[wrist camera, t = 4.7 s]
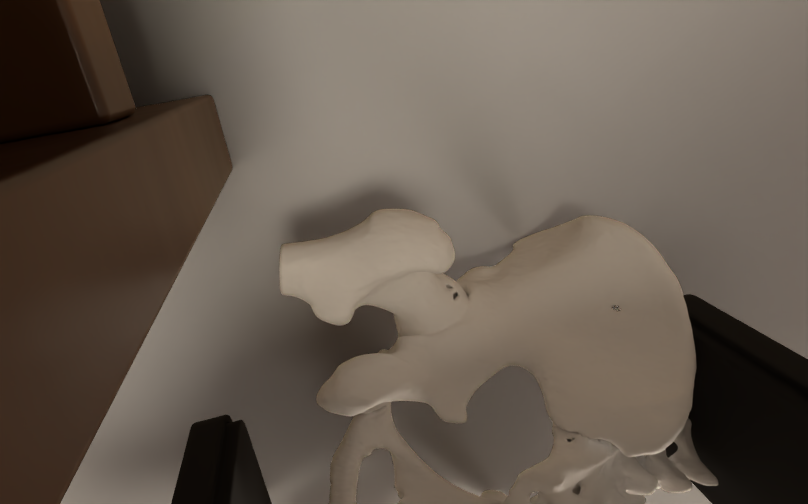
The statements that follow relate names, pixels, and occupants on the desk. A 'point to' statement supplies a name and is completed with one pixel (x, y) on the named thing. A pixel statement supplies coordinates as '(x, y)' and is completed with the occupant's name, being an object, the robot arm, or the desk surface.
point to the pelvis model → (512, 353)
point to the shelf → (84, 231)
